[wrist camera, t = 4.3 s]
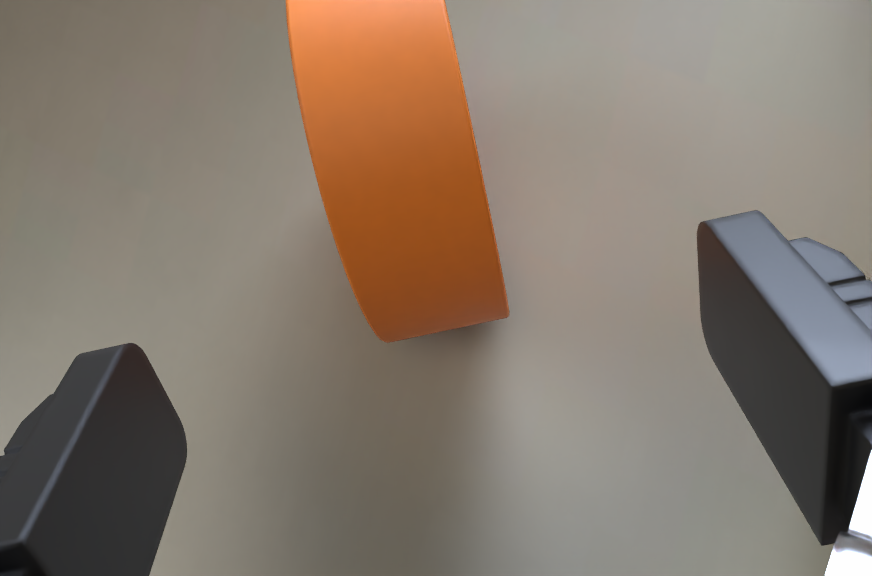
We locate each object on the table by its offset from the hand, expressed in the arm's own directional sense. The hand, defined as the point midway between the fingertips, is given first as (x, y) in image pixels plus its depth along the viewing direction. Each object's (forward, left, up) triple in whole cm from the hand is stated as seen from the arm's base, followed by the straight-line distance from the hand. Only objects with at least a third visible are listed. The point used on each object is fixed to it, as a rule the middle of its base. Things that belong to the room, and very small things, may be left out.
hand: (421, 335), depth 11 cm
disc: (-4, +4, -11) cm, 12 cm away
